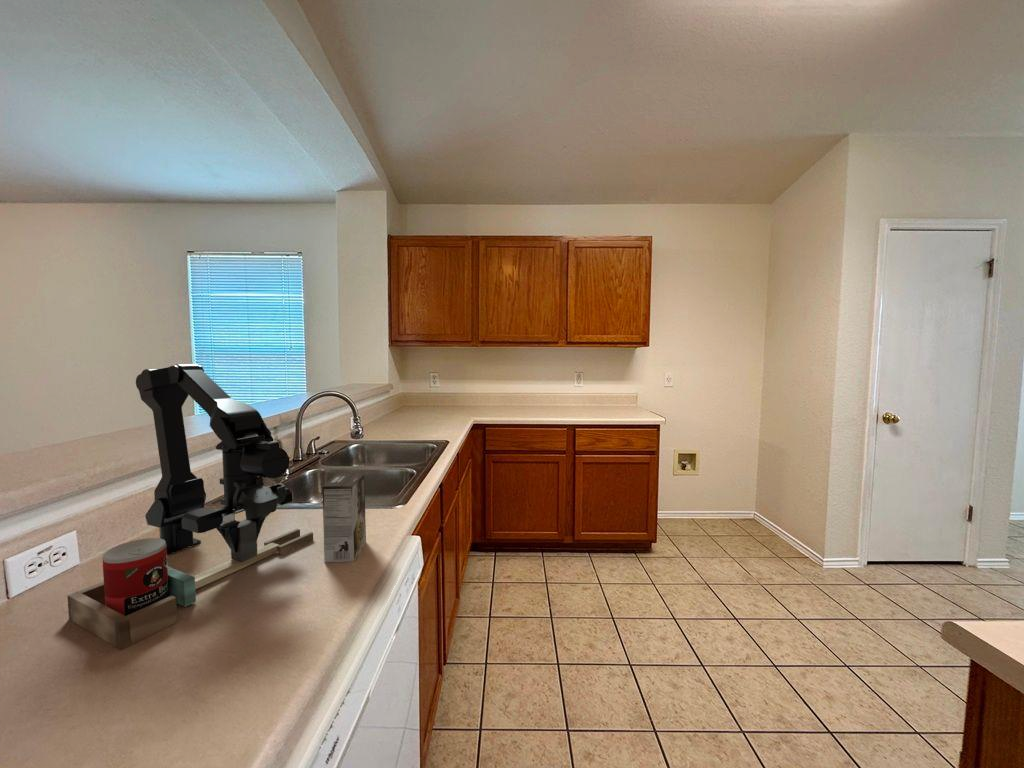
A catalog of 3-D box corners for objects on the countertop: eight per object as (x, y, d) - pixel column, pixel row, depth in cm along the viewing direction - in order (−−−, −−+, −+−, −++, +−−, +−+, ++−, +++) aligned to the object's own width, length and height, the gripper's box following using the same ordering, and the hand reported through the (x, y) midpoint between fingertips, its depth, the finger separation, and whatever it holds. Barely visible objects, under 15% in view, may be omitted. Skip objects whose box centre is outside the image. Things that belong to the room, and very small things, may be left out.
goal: (68, 619, 66) (67, 595, 66) (124, 596, 72) (123, 574, 72) (120, 650, 59) (119, 623, 59) (177, 621, 65) (175, 597, 65)
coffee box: (337, 543, 93) (336, 473, 92) (367, 542, 94) (365, 472, 93) (322, 563, 84) (320, 485, 83) (355, 561, 85) (353, 484, 84)
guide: (264, 550, 89) (264, 542, 89) (297, 536, 97) (297, 528, 97) (281, 555, 87) (280, 547, 87) (313, 540, 94) (313, 532, 94)
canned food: (129, 631, 63) (125, 562, 62) (93, 623, 65) (88, 555, 64) (181, 603, 70) (178, 540, 70) (147, 596, 72) (143, 535, 72)
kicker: (150, 591, 73) (147, 545, 73) (259, 545, 91) (258, 508, 91) (185, 606, 69) (182, 558, 68) (293, 555, 87) (292, 516, 86)
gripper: (214, 492, 70) (218, 580, 71) (309, 465, 87) (311, 537, 88) (177, 483, 75) (182, 566, 76) (274, 460, 92) (277, 528, 93)
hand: (244, 548), depth 83 cm, fingers closed on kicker, 3 cm apart
